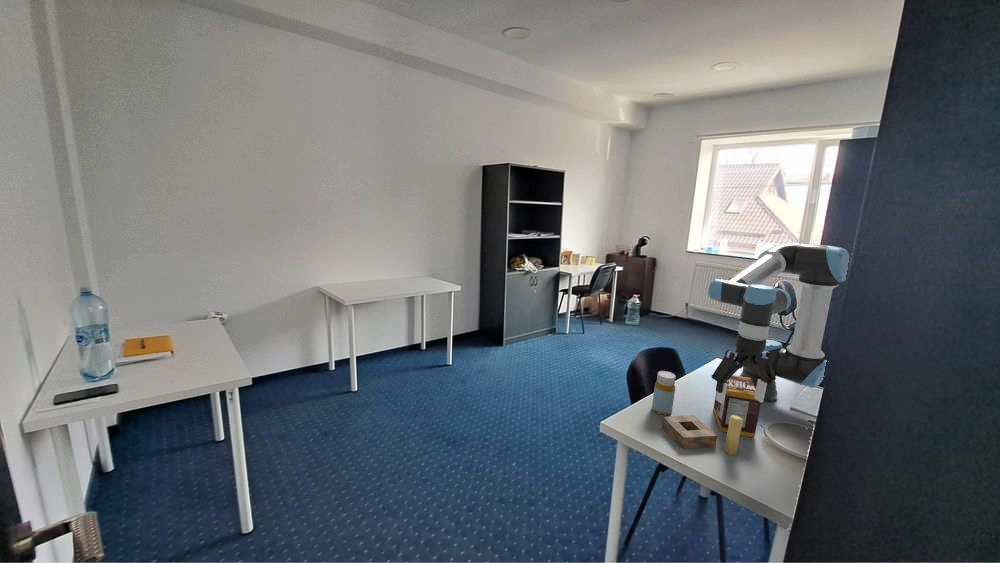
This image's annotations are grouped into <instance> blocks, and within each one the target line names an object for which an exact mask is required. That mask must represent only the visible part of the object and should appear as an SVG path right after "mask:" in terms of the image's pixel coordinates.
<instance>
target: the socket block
mask: <svg viewBox="0 0 1000 563" xmlns="http://www.w3.org/2000/svg"><path fill="white" fill-rule="evenodd" d="M661 428H662V429H663V431H665V432H666V434H667V435H668V436H669V437H671V439H672V440H673V441H674V442H675V443H676V444H677V445H678V446H679V447H680V448H681V449H696V448H697V449H698V448H710V447H717V446H716V445H717V440H718V435H717V434H716V433H715V432H714V431H713V430H712V429H710V428H709V427H708V426H707V425H706V424H705V422H703V421H701V420H700V419H699V418H698V417H697V416H696V415H694V414H692V415H675V416H669V415H668V416H663V417H662V422H661Z"/></svg>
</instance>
